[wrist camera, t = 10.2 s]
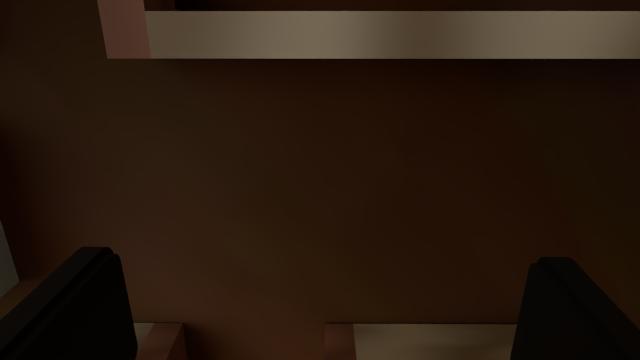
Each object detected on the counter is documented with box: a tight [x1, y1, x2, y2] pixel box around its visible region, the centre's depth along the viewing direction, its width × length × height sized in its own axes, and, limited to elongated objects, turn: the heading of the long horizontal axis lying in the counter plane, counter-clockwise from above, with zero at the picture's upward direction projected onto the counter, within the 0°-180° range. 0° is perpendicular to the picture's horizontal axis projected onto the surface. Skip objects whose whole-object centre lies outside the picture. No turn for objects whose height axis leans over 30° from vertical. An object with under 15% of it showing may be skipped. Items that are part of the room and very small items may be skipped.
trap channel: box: [97, 0, 640, 360], centre depth 14 cm, size 32×21×4 cm
